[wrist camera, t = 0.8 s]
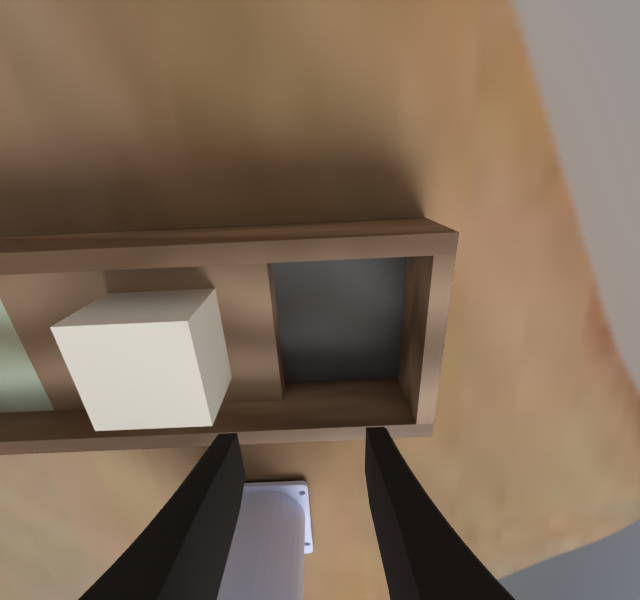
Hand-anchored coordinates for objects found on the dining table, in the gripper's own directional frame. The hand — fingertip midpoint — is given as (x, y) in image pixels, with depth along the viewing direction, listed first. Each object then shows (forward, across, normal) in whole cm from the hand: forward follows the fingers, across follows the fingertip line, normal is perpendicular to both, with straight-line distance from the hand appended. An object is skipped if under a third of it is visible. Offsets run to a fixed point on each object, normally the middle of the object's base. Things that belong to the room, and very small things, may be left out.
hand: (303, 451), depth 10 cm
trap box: (+10, +9, 0) cm, 14 cm away
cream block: (+8, +8, 0) cm, 12 cm away
